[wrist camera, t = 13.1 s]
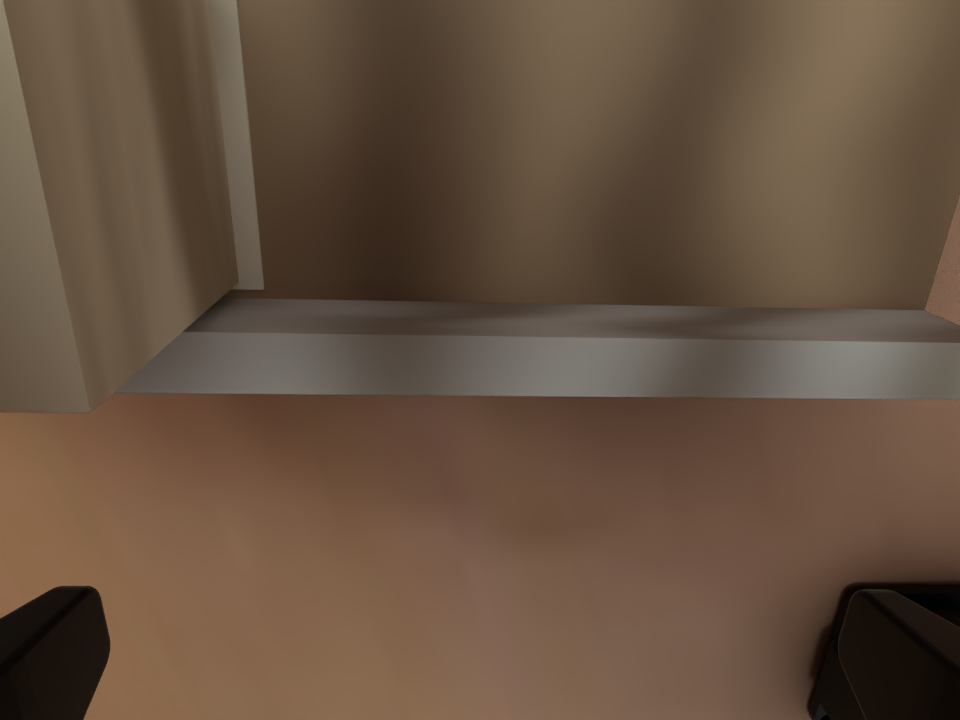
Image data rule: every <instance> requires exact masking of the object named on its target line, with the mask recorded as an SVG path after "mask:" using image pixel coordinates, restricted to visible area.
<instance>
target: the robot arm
mask: <svg viewBox="0 0 960 720" xmlns="http://www.w3.org/2000/svg"><path fill="white" fill-rule="evenodd" d="M109 653H110V637H109V633H108V628H107V624H106V619H105V615H104V610H103V606H102V601H101V597H100V594H99V592H98V591H97V590H96V589H95V588H93V587H91V586H60V587H56V588H53V589H51V590H49V591H48V592H46V593H44V594H42V595H41V596H39V597H37V598H35V599H34V600H32V601H30V602H28V603H27V604H25V605H23V606H21V607H20V608H18V609H16V610H14V611H13V612H11V613H9V614H7V615H6V616H4V617H2V618H0V720H83V719H84V717H85V714H86V712H87V710H88V707H89V705H90V703H91V700H92V698H93V695H94V693H95V691H96V688H97V686H98V683H99V681H100V679H101V676H102V674H103V672H104V669H105V667H106V664H107V661H108V658H109ZM809 715H810V717H811V719H812V720H960V585H920V586H859V587H855V588H853V589H851V590H849V591H848V592H847V593H846V595H845V596H844V599H843V602H842V605H841V608H840V612H839V615H838V618H837V621H836V624H835V628H834V631H833V634H832V637H831V641H830V644H829V647H828V650H827V653H826V657H825V660H824V663H823V666H822V670H821V673H820V676H819V679H818V682H817V686H816V689H815V692H814V695H813V699H812V702H811V705H810V708H809Z"/></svg>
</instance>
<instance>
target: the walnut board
mask: <svg viewBox="0 0 960 720" xmlns="http://www.w3.org/2000/svg"><path fill="white" fill-rule="evenodd" d="M209 9H210V19H211V28H212V37H213V47H214V56H215V65H216V74H217V84H218V93H219V102H220V112H221V121H222V130H223V139H224V149H225V158H226V167H227V177H228V186H229V195H230V204H231V214H232V223H233V232H234V242H235V251H236V260H237V269H238V279H239V282H238V283H237V284H236V285H235V286H234V287H233V288H232V289H230V290H229V291H228V292H227V293H226V294H225V295H224V296H222V297H221V298H220V299H219V300H218V301H217V302H216V303H215V304H213V305H212V306H211V307H210V308H209V309H208V310H207V311H205V312H204V313H203V314H202V315H201V316H200V317H199V318H197V319H196V320H195V321H194V322H193V323H192V324H191V325H190V326H188V327H187V328H186V329H185V330H184V331H183V332H182V333H180V334H179V335H178V336H177V337H176V338H175V339H174V340H173V341H171V342H170V343H169V344H168V345H167V346H166V347H165V348H163V349H162V350H161V351H160V352H159V353H158V354H157V355H156V356H154V357H153V358H152V359H151V360H150V361H149V362H148V363H146V364H145V365H144V366H143V367H142V368H141V369H140V370H139V371H137V372H136V373H135V374H134V375H133V376H132V377H131V378H129V379H128V380H127V381H126V382H125V383H124V384H123V385H121V386H120V387H119V388H118V389H117V390H116V391H115V392H114V393H207V394H329V395H451V396H573V397H695V398H818V399H940V400H960V325H957V324H955V323H953V322H950V321H948V320H946V319H943V318H941V317H939V316H936V315H934V314H932V313H929V312H927V311H925V307H926V303H927V300H928V297H929V293H930V290H931V287H932V284H933V280H934V277H935V274H936V271H937V267H938V264H939V261H940V257H941V254H942V251H943V248H944V244H945V241H946V238H947V234H948V231H949V228H950V225H951V221H952V218H953V215H954V212H955V208H956V205H957V202H958V198H959V195H960V0H209Z"/></svg>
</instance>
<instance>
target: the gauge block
mask: <svg viewBox="0 0 960 720" xmlns="http://www.w3.org/2000/svg"><path fill="white" fill-rule="evenodd" d="M238 282H239V279H238V269H237V260H236V251H235V242H234V232H233V223H232V214H231V204H230V195H229V186H228V177H227V167H226V158H225V149H224V139H223V130H222V121H221V112H220V102H219V93H218V84H217V74H216V65H215V56H214V47H213V37H212V28H211V19H210V9H209V0H0V412H39V413H91V412H92V411H93V410H94V409H95V408H97V407H98V406H99V405H100V404H101V403H102V402H103V401H104V400H106V399H107V398H108V397H109V396H110V395H111V394H112V393H114V392H115V391H116V390H117V389H118V388H119V387H120V386H121V385H123V384H124V383H125V382H126V381H127V380H128V379H129V378H131V377H132V376H133V375H134V374H135V373H136V372H137V371H139V370H140V369H141V368H142V367H143V366H144V365H145V364H146V363H148V362H149V361H150V360H151V359H152V358H153V357H154V356H156V355H157V354H158V353H159V352H160V351H161V350H162V349H163V348H165V347H166V346H167V345H168V344H169V343H170V342H171V341H173V340H174V339H175V338H176V337H177V336H178V335H179V334H180V333H182V332H183V331H184V330H185V329H186V328H187V327H188V326H190V325H191V324H192V323H193V322H194V321H195V320H196V319H197V318H199V317H200V316H201V315H202V314H203V313H204V312H205V311H207V310H208V309H209V308H210V307H211V306H212V305H213V304H215V303H216V302H217V301H218V300H219V299H220V298H221V297H222V296H224V295H225V294H226V293H227V292H228V291H229V290H230V289H232V288H233V287H234V286H235V285H236V284H237V283H238Z"/></svg>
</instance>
